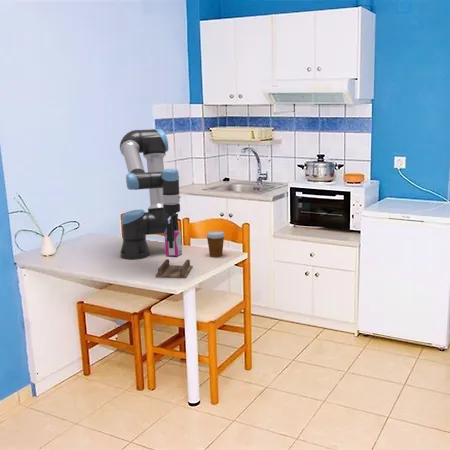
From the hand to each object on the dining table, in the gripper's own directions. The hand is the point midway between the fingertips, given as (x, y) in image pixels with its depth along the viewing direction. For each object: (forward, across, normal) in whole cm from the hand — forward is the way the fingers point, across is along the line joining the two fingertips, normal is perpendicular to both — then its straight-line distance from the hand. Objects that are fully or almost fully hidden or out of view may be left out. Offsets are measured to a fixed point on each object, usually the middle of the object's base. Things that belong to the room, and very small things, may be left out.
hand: (173, 252), depth 259 cm
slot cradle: (+10, 0, 0) cm, 10 cm away
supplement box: (+2, 0, 0) cm, 2 cm away
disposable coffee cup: (+10, +30, -15) cm, 35 cm away
